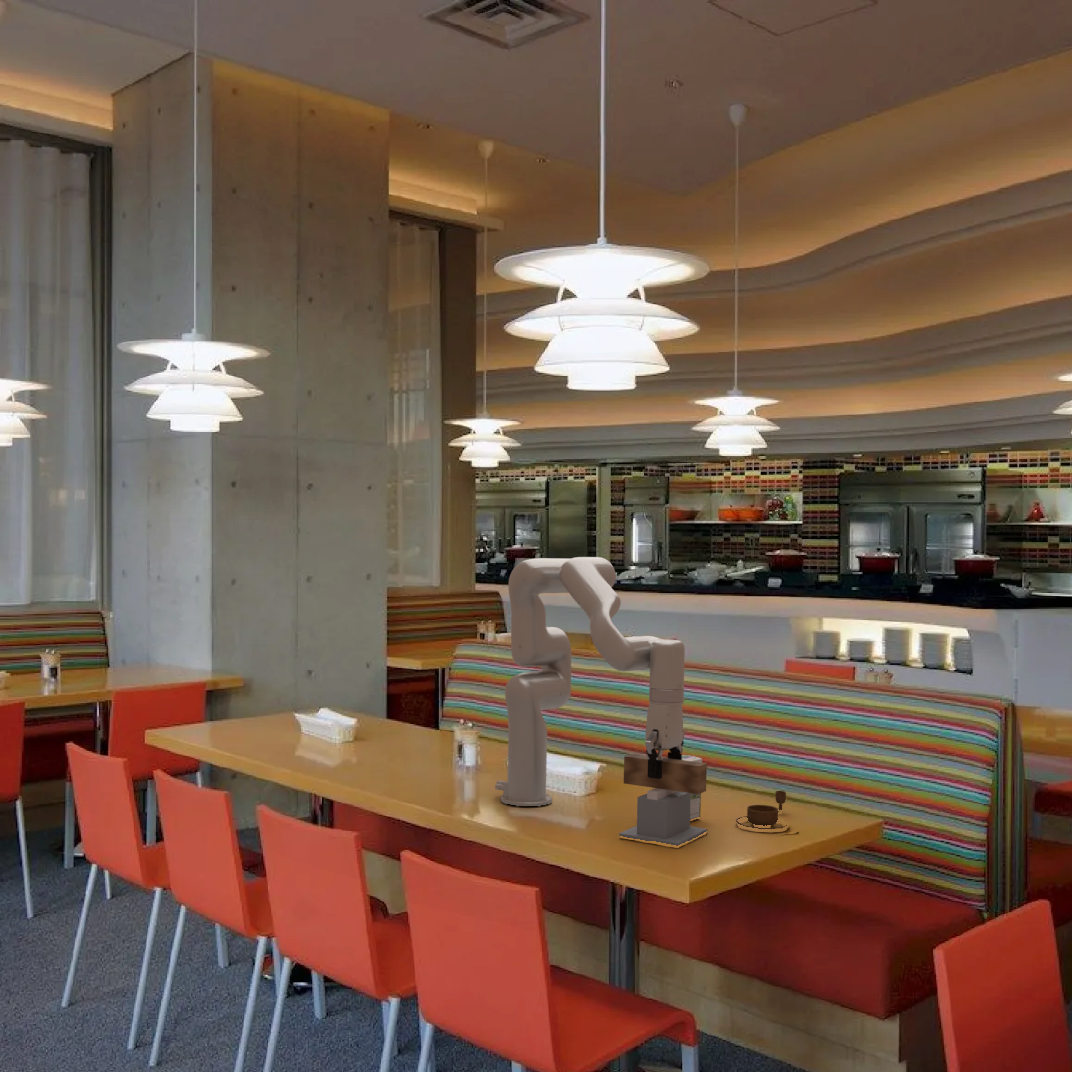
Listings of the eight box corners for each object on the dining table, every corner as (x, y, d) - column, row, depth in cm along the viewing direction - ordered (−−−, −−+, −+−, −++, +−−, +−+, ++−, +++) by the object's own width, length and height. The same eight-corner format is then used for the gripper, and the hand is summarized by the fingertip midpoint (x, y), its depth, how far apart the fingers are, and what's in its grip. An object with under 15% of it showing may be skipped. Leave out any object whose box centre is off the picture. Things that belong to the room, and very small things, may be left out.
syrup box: (679, 815, 279) (681, 753, 279) (701, 819, 275) (702, 757, 275) (666, 819, 274) (667, 757, 274) (688, 824, 271) (689, 760, 270)
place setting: (716, 824, 273) (716, 798, 273) (778, 814, 284) (779, 789, 284) (769, 841, 259) (770, 814, 259) (833, 830, 270) (834, 804, 270)
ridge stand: (619, 838, 256) (620, 788, 256) (650, 825, 269) (651, 777, 269) (677, 849, 249) (678, 797, 249) (707, 834, 261) (708, 785, 261)
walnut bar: (623, 783, 262) (624, 756, 262) (632, 780, 265) (632, 753, 265) (698, 794, 252) (699, 766, 252) (706, 791, 256) (706, 763, 256)
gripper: (668, 690, 268) (666, 766, 268) (632, 698, 253) (631, 778, 253) (698, 693, 264) (696, 770, 264) (664, 702, 249) (662, 783, 249)
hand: (664, 774), depth 259 cm, fingers open, 9 cm apart
